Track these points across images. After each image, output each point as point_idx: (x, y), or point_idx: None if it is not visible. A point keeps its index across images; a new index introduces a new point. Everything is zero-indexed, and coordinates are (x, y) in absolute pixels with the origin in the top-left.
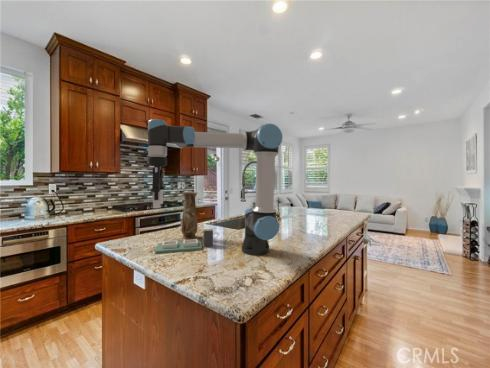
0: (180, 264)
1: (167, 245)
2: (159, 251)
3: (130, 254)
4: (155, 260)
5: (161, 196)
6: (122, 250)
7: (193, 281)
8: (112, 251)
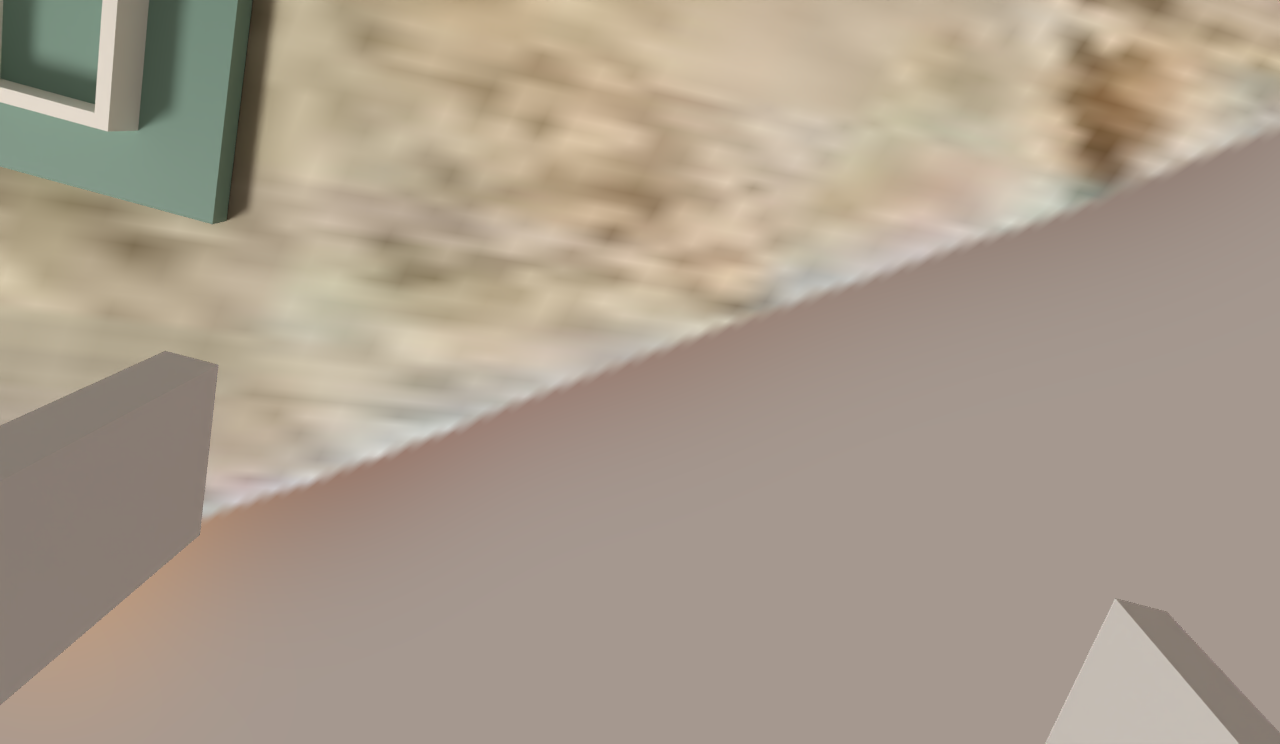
0: (692, 35)
1: (121, 65)
2: (221, 177)
3: None
4: (453, 254)
5: (36, 511)
6: None
7: (1175, 28)
8: None
